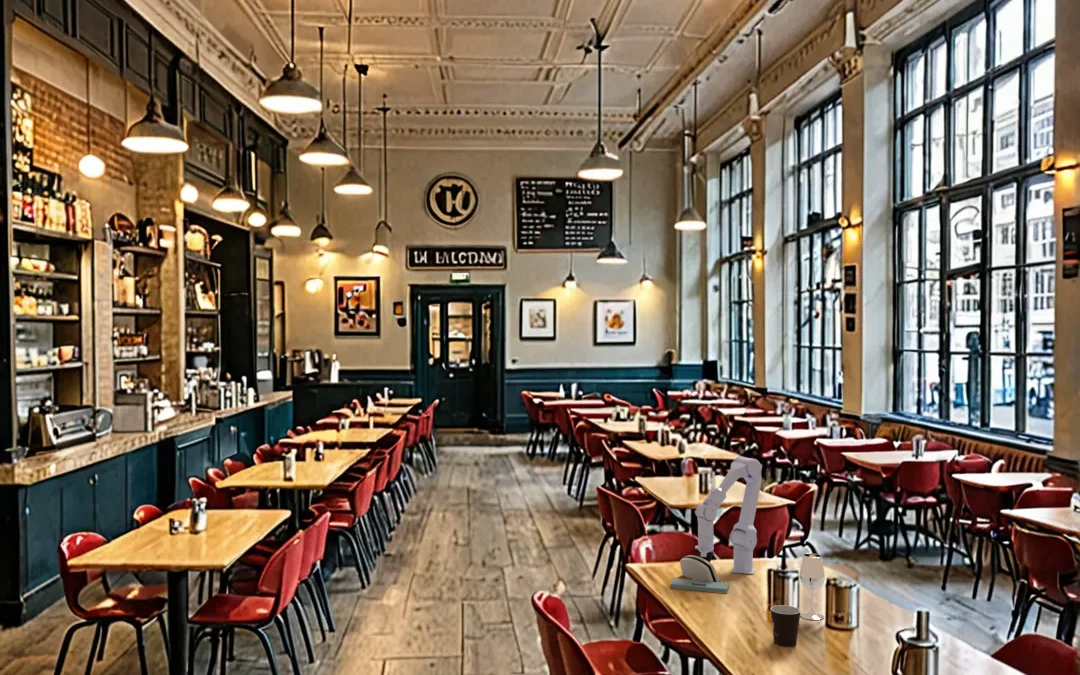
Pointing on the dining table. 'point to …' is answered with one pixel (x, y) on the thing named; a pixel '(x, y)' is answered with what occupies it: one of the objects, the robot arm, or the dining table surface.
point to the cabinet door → (699, 585)
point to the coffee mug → (785, 625)
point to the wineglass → (812, 580)
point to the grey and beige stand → (698, 569)
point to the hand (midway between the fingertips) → (705, 571)
